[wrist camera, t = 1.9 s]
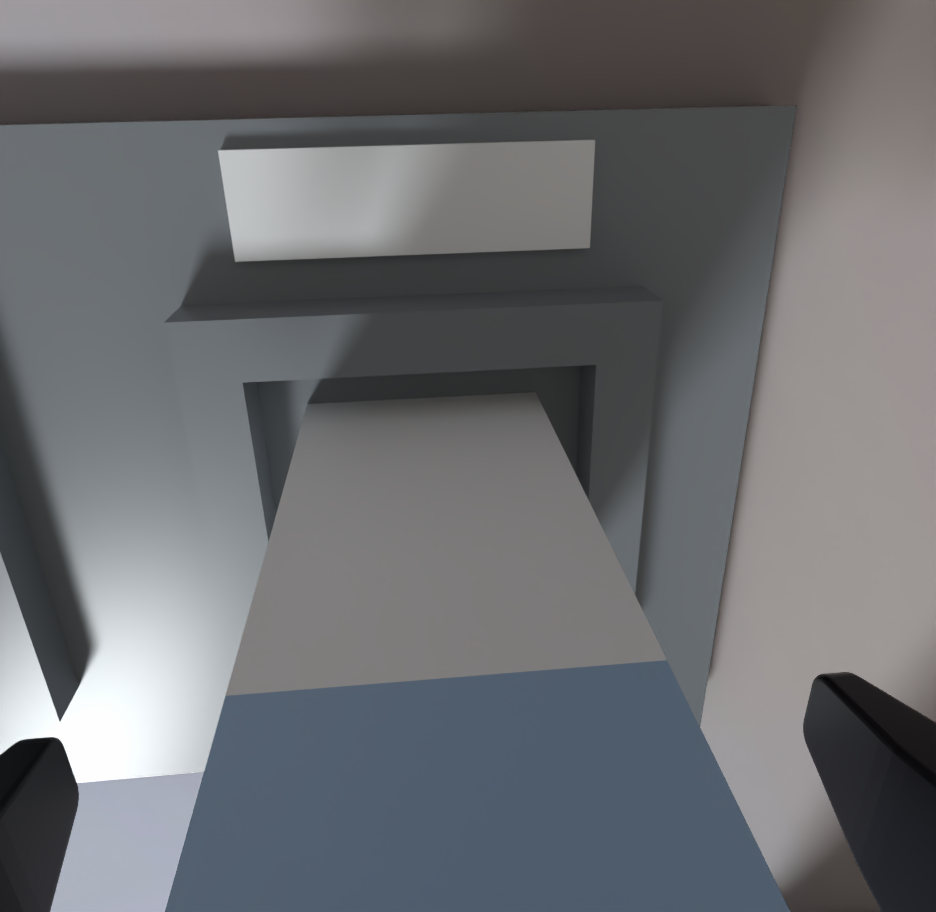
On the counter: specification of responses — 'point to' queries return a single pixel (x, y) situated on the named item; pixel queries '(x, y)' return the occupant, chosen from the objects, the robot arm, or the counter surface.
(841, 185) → the counter surface
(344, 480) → the plug
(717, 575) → the panel
